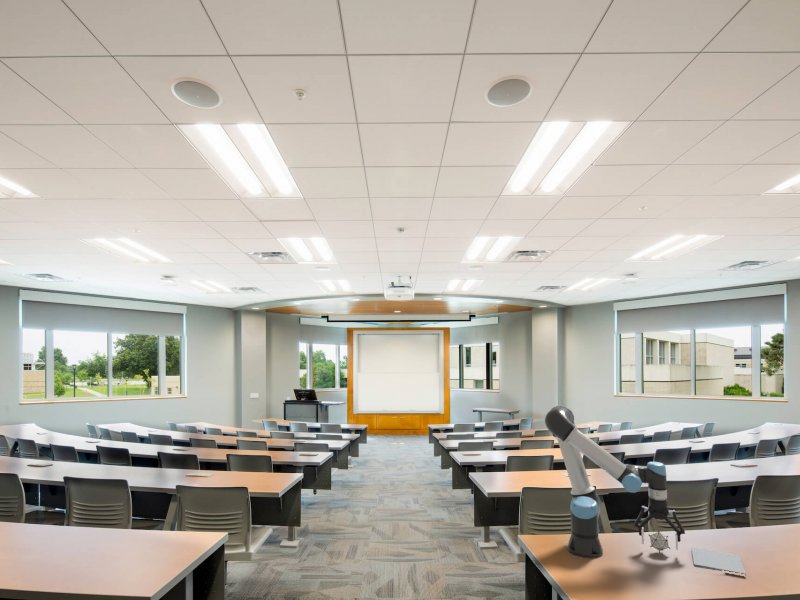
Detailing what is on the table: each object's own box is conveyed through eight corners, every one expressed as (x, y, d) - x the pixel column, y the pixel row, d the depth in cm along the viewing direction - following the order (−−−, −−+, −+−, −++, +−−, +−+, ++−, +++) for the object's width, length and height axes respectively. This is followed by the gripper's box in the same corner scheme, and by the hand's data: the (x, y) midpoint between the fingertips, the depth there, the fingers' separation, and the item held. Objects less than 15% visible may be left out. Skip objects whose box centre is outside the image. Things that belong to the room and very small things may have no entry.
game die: (673, 558, 220) (672, 535, 220) (652, 556, 221) (651, 533, 222) (666, 549, 228) (665, 526, 229) (646, 547, 230) (645, 525, 231)
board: (694, 567, 211) (694, 564, 211) (691, 550, 227) (691, 547, 227) (745, 577, 203) (745, 573, 203) (739, 558, 219) (739, 555, 219)
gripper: (627, 496, 228) (628, 543, 227) (690, 504, 217) (692, 554, 216) (628, 491, 235) (629, 537, 234) (689, 499, 224) (691, 547, 223)
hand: (659, 545), depth 225 cm, fingers open, 13 cm apart
